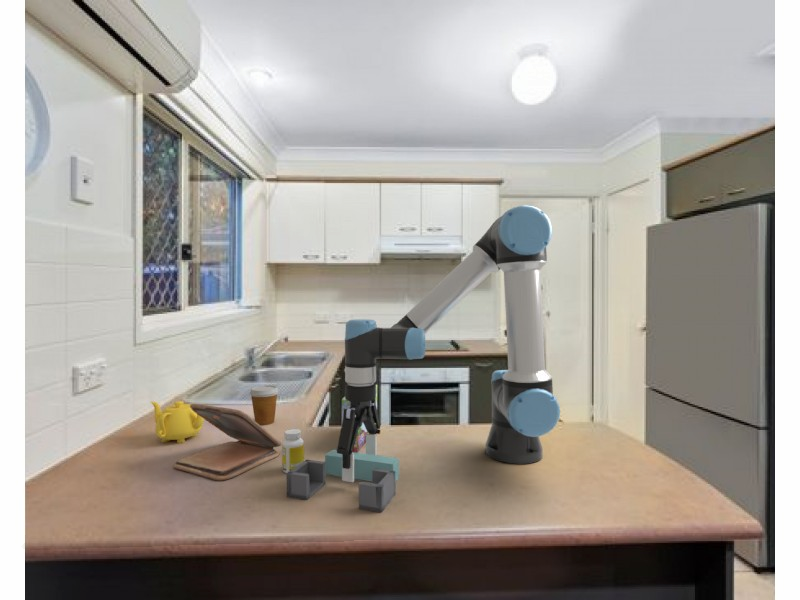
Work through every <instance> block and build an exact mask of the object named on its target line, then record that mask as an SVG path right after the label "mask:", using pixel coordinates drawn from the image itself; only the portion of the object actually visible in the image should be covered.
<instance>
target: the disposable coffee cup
mask: <svg viewBox="0 0 800 600" xmlns="http://www.w3.org/2000/svg"><path fill="white" fill-rule="evenodd" d="M249 394H250V396H251V403H252V409H253V410H252V411H253V415H254V421H255V422H257V423H258V424H259V425H260V426H266V425H271V424H274V423H275V420H276V419H275V418H276V408H277V400H278V399H277V398H278V394H279V389H278V386H276V385H271V384H269V385H266V384H265V385H257V386H253V387H252V388H251V389H250V392H249Z"/></svg>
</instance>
